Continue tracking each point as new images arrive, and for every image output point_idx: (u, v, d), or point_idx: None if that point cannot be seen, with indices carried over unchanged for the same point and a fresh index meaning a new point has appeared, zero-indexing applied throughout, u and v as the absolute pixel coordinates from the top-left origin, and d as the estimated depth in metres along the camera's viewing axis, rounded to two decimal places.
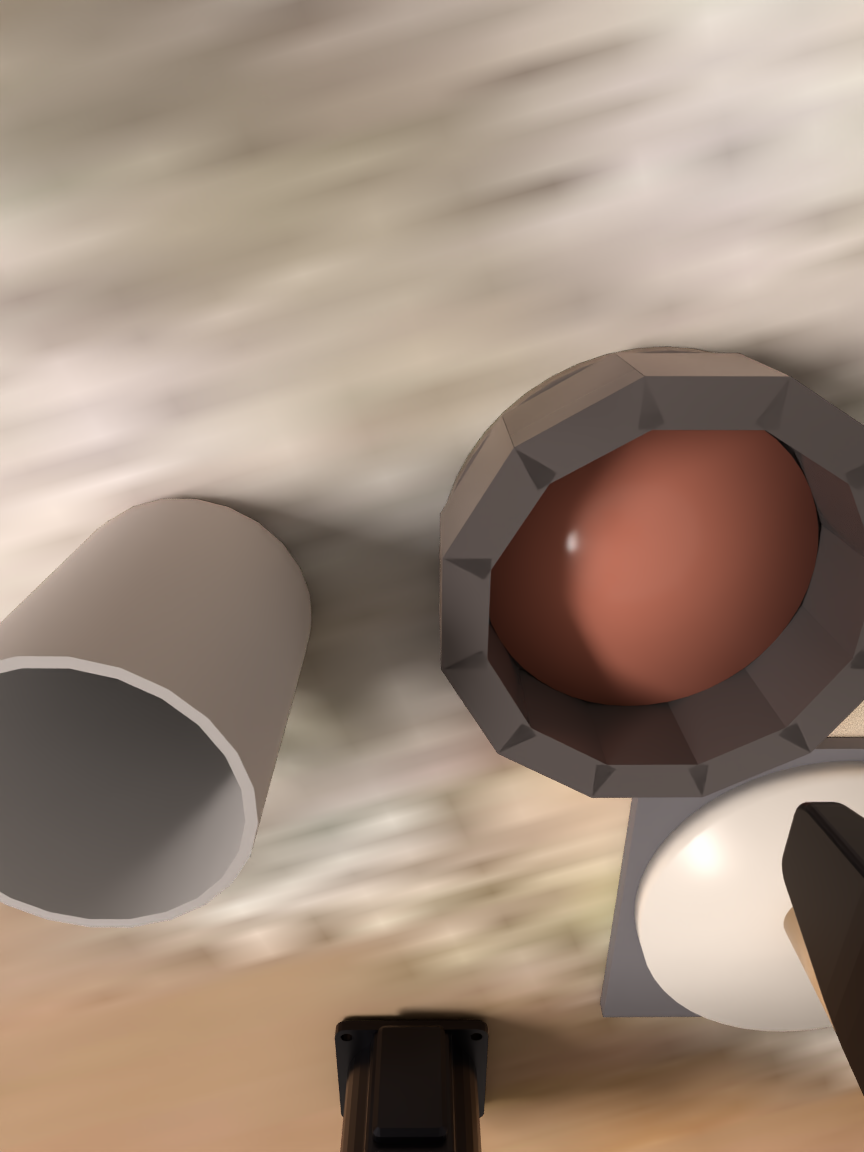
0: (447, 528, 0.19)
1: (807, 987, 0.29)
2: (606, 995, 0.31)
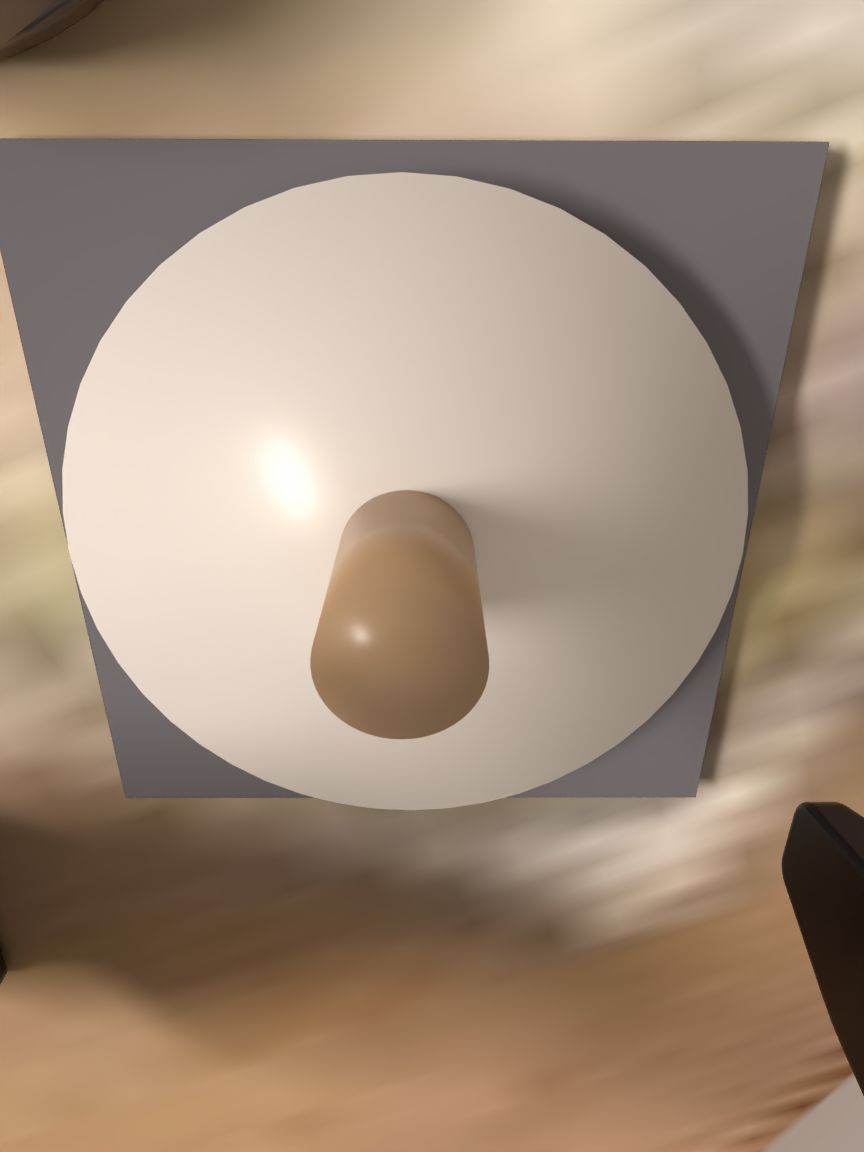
0: None
1: None
2: (116, 753, 0.18)
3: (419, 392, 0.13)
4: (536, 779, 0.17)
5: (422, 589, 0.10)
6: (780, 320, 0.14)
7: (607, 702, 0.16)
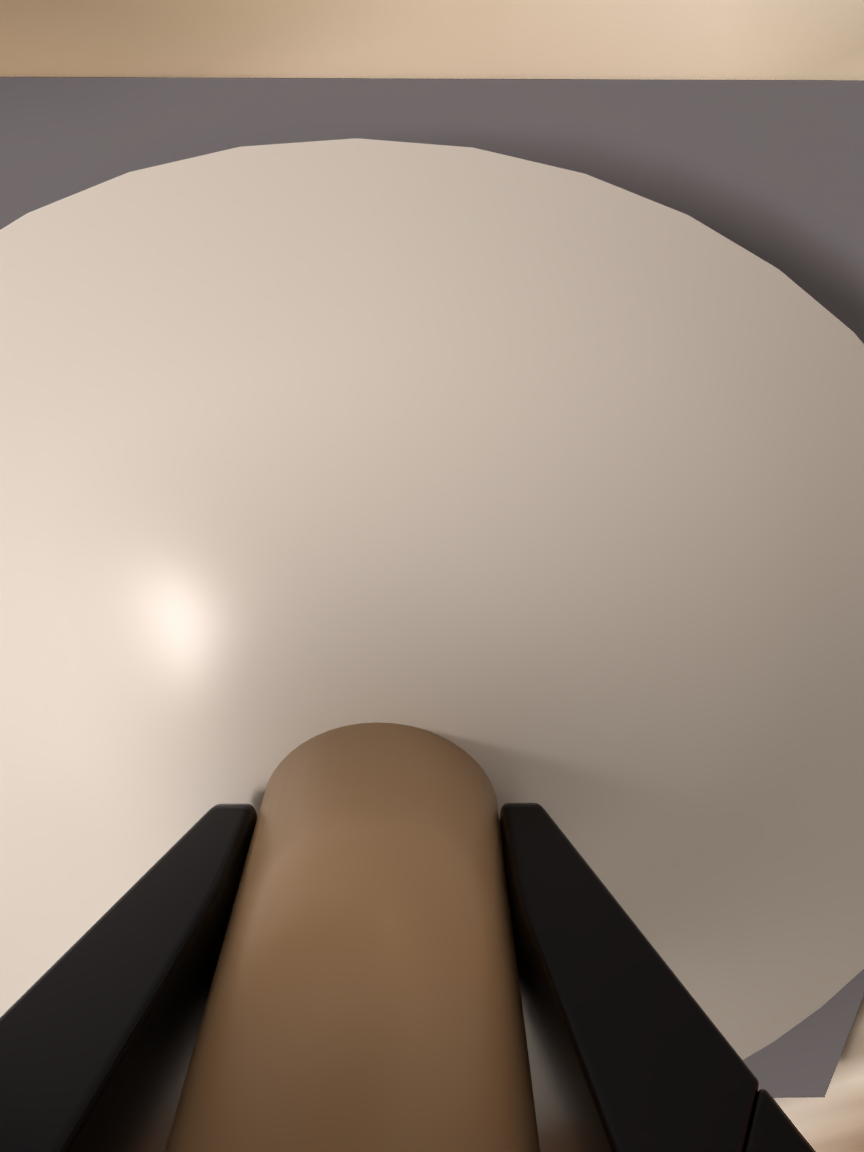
0: None
1: None
2: None
3: (399, 563, 0.07)
4: None
5: None
6: None
7: (712, 1018, 0.10)
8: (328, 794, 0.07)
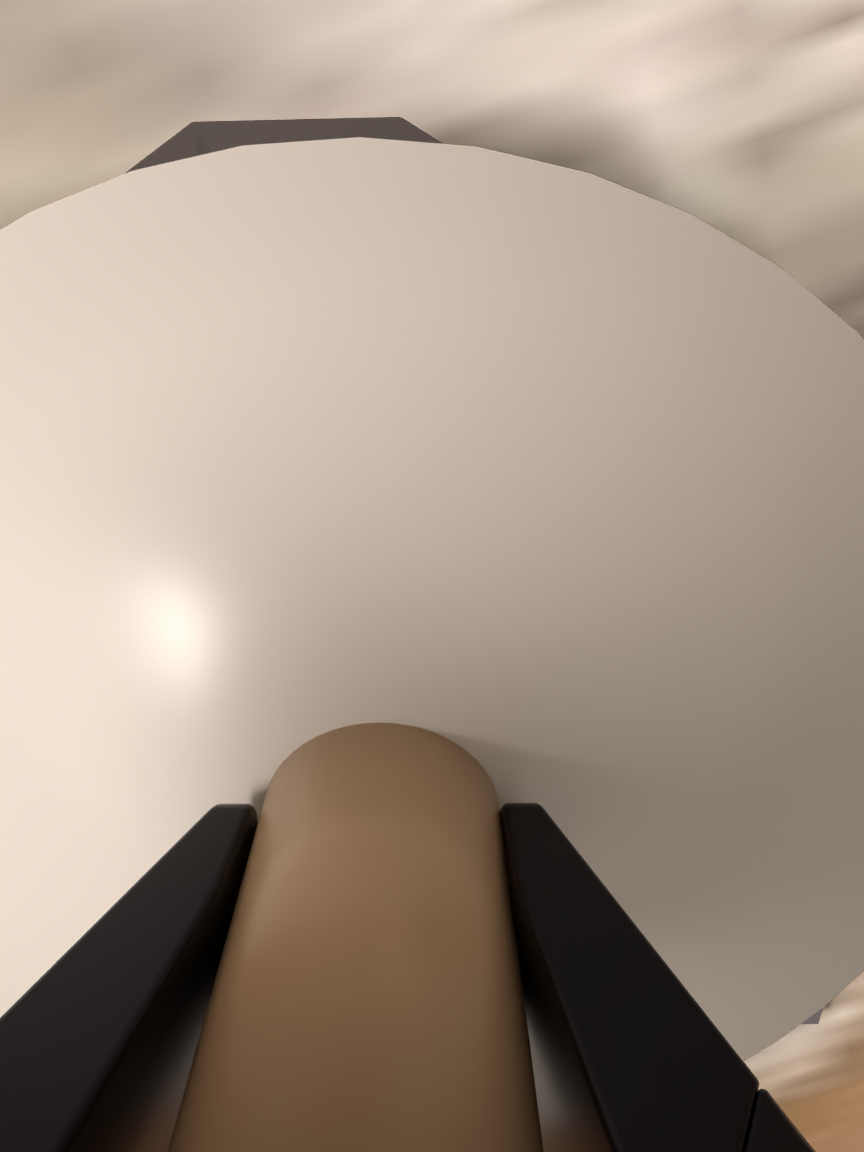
0: None
1: None
2: None
3: (401, 563, 0.07)
4: None
5: None
6: None
7: (714, 1018, 0.10)
8: (330, 794, 0.07)
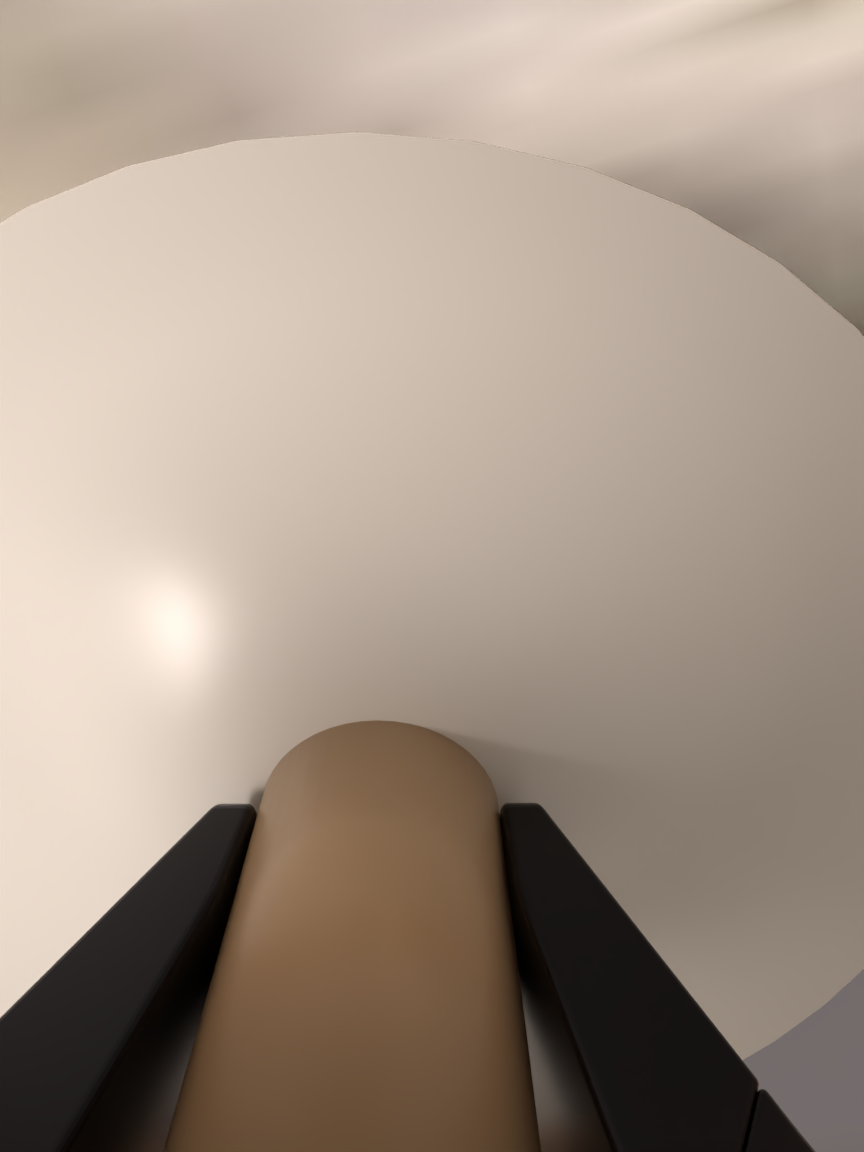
0: None
1: None
2: None
3: (399, 560, 0.07)
4: None
5: None
6: None
7: (713, 1017, 0.10)
8: (328, 792, 0.07)
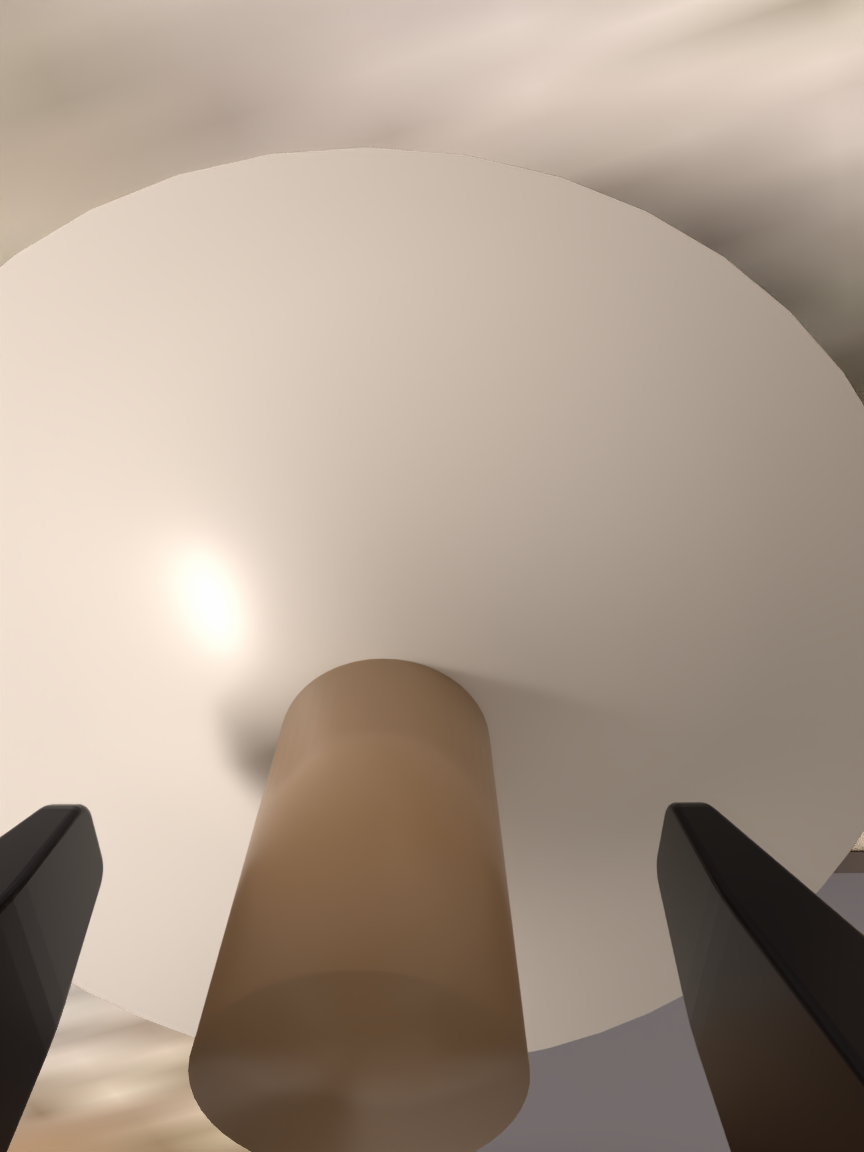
0: None
1: None
2: None
3: (402, 514, 0.08)
4: (576, 1030, 0.12)
5: (403, 969, 0.05)
6: None
7: None
8: (341, 714, 0.08)
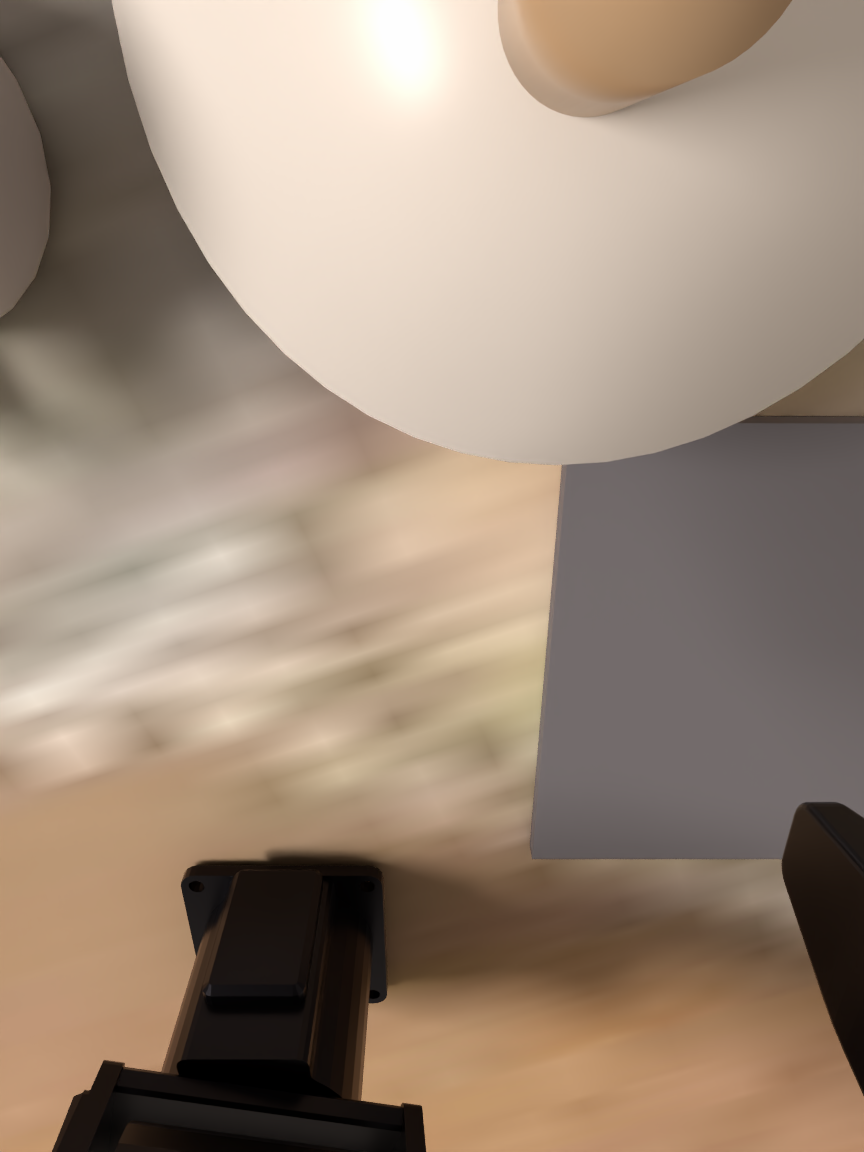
0: None
1: (595, 301, 0.12)
2: (535, 827, 0.23)
3: None
4: (730, 414, 0.13)
5: None
6: None
7: (843, 279, 0.12)
8: None
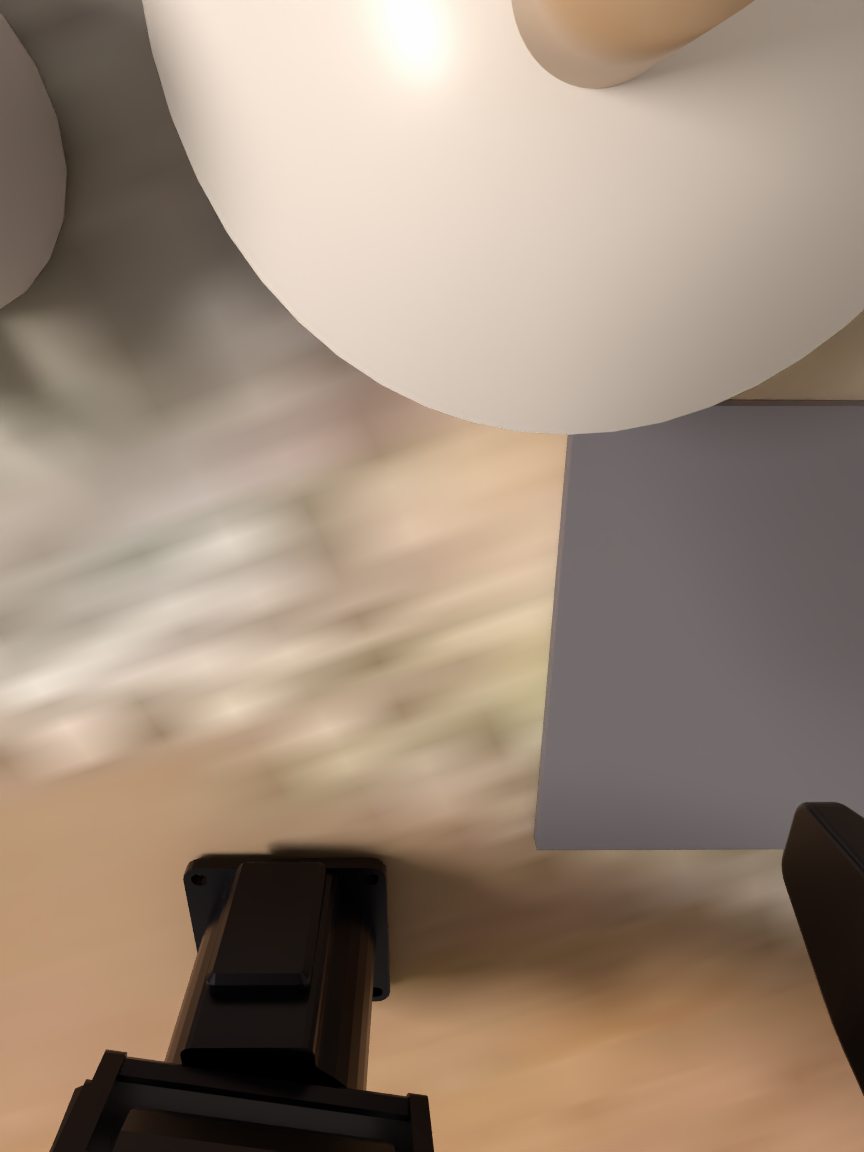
0: None
1: (604, 271, 0.12)
2: (539, 817, 0.23)
3: None
4: (735, 383, 0.13)
5: None
6: None
7: (845, 250, 0.12)
8: None
